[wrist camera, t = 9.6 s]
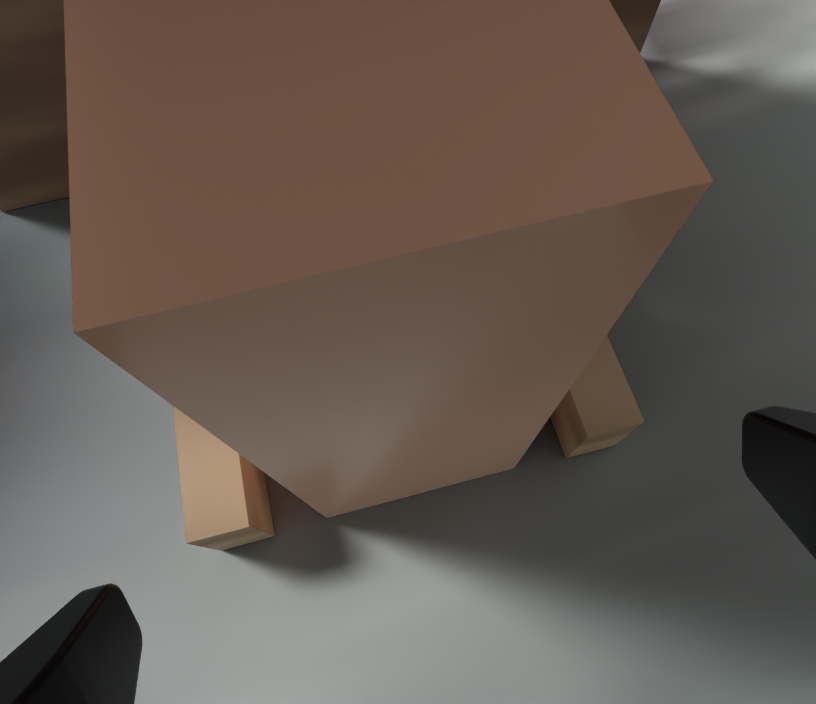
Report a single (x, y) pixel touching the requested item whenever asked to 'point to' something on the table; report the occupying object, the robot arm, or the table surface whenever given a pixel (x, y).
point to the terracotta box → (364, 221)
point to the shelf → (196, 447)
